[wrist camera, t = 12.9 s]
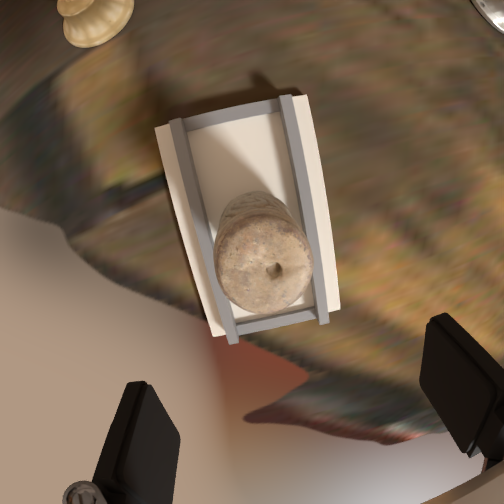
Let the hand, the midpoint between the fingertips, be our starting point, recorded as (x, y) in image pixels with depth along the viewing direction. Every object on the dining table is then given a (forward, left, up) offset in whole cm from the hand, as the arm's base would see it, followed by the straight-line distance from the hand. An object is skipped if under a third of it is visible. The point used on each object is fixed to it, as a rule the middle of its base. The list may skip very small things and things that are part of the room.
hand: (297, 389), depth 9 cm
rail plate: (0, 0, -22) cm, 22 cm away
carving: (0, 0, -21) cm, 21 cm away
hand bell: (-26, -11, -22) cm, 36 cm away
